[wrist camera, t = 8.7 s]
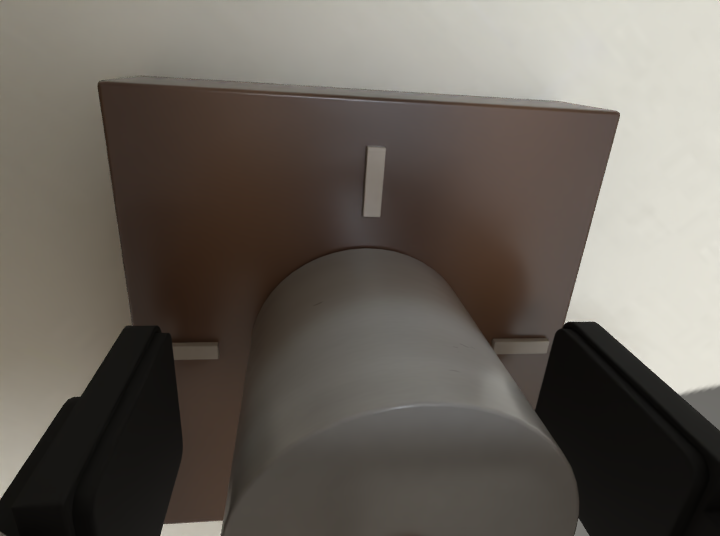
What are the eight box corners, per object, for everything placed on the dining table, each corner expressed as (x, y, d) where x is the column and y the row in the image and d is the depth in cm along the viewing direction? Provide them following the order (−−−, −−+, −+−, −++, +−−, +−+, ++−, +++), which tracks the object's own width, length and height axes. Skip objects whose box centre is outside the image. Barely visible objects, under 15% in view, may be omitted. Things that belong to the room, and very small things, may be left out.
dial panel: (180, 454, 15) (158, 531, 12) (138, 75, 11) (91, 80, 8) (486, 440, 16) (519, 508, 14) (560, 101, 12) (628, 112, 9)
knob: (243, 248, 10) (194, 435, 5) (478, 245, 10) (636, 408, 6) (256, 437, 12) (230, 701, 7) (452, 425, 12) (552, 659, 8)
